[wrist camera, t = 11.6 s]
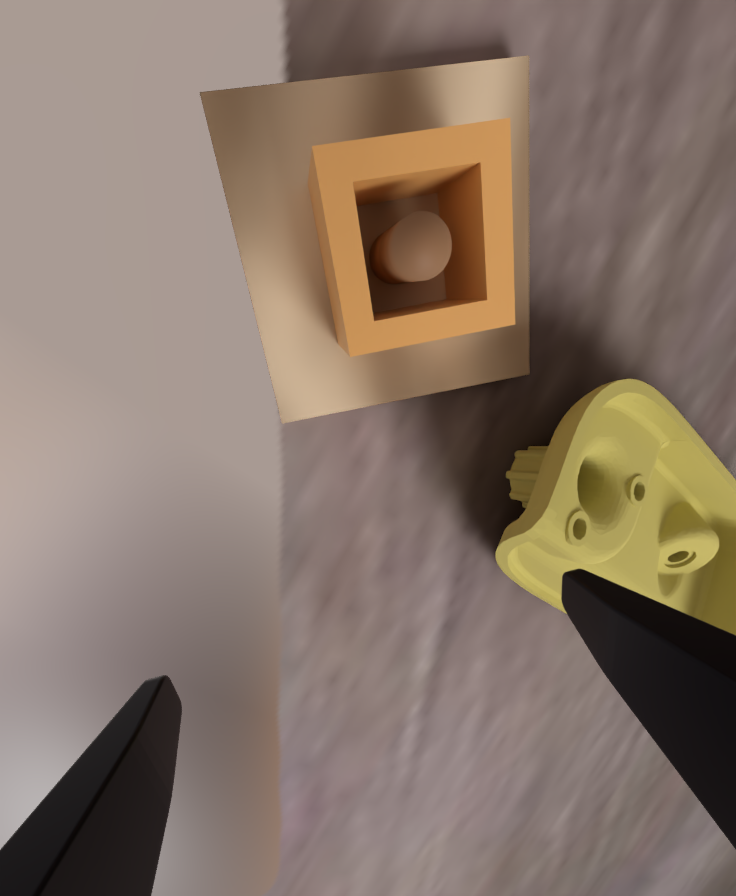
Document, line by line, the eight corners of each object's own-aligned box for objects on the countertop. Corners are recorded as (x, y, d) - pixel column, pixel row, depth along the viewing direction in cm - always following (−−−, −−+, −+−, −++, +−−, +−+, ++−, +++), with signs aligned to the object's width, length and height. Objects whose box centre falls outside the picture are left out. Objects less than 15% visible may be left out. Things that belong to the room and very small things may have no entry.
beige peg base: (515, 69, 16) (607, -25, 11) (518, 370, 20) (584, 392, 16) (205, 105, 15) (164, 16, 10) (282, 417, 19) (278, 456, 14)
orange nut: (459, 159, 16) (510, 117, 12) (469, 318, 18) (515, 324, 14) (307, 182, 15) (312, 145, 11) (338, 344, 17) (350, 357, 14)
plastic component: (777, 530, 25) (740, 694, 22) (647, 512, 31) (607, 637, 29) (613, 331, 16) (527, 558, 14) (482, 363, 23) (409, 522, 21)
